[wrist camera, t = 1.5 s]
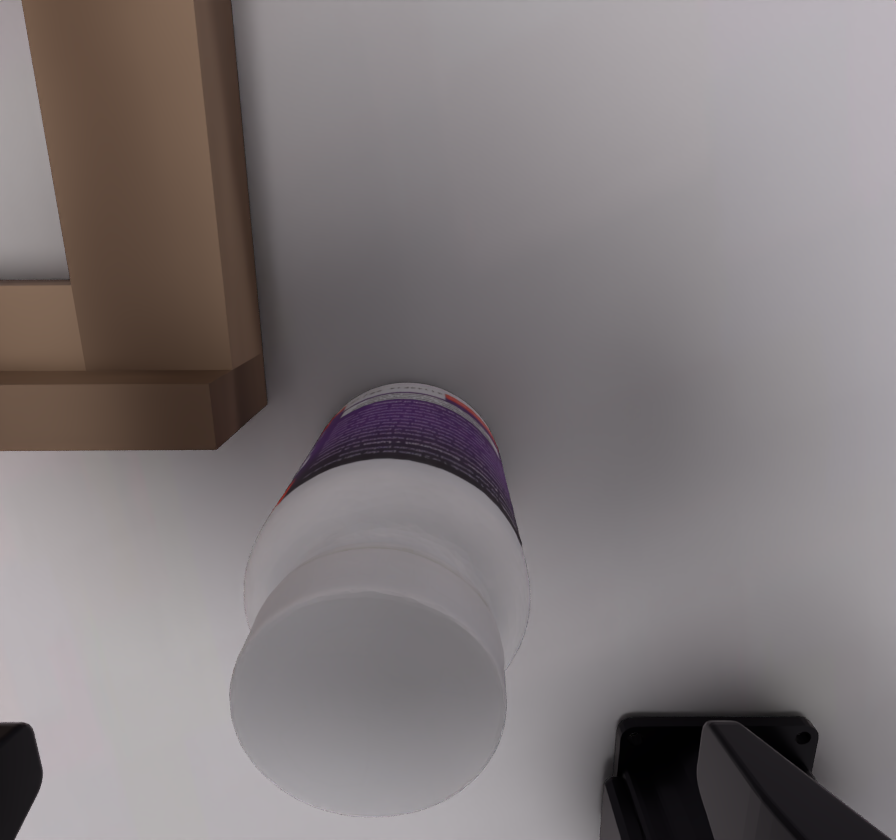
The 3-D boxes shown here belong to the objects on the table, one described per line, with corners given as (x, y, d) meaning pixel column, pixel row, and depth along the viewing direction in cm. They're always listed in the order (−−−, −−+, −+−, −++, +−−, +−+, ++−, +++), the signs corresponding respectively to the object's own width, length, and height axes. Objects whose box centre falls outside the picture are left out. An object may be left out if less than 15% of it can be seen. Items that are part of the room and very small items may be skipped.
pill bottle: (298, 395, 17) (125, 574, 8) (485, 364, 17) (533, 511, 8) (339, 563, 19) (233, 879, 9) (511, 536, 19) (578, 834, 9)
